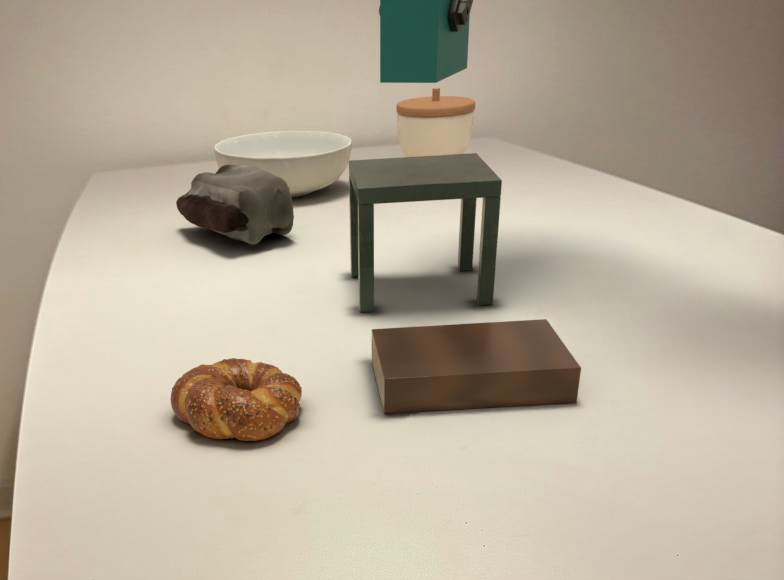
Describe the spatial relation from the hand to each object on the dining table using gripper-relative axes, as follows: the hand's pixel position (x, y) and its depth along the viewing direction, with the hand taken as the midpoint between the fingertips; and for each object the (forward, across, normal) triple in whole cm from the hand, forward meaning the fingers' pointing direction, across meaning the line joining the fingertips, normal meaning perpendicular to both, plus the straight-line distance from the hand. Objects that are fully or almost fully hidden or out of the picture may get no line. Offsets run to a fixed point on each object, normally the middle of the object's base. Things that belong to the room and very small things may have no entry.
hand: (420, 24), depth 87 cm
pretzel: (+42, -4, -7) cm, 42 cm away
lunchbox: (+2, 0, +4) cm, 5 cm away
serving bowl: (-13, -36, +49) cm, 62 cm away
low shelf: (+32, +12, +3) cm, 35 cm away
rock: (+6, -31, +30) cm, 43 cm away
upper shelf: (+16, 0, +20) cm, 25 cm away
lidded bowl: (-29, -19, +65) cm, 74 cm away
